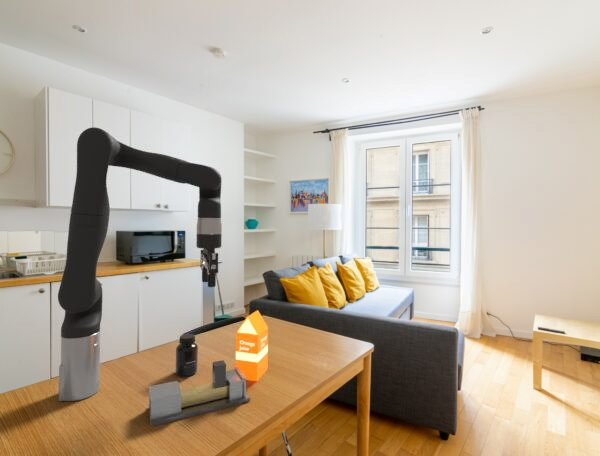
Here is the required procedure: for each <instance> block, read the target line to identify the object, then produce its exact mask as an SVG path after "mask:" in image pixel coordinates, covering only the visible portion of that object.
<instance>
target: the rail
mask: <svg viewBox="0 0 600 456" xmlns="http://www.w3.org/2000/svg"><path fill="white" fill-rule="evenodd" d="M226 381H227V382H228V384H229V388H228V397H224V398H220V399H216V400H212V401H208V402H204V403H199V404H195V405H191V406H187V407H183V408H181V388H180V384H179V382H178V380H174V381H170V382H165V383H159V384H155V385H150V386H149V389H148V390H149V391H148V394H149V395H148V397H149V398H148V412H149V421H150V427H155V426H158V425H162V424H167V423H169V422H175V421H178V420H182V419H186V418H189V417H190V418H191V417H194V416H198V415H200V414H201V415H202V414H206V413H209V412H214V411H218V410H222V409H225V408H229V407H233V406H237V405H241V404H245V403H249V402H250V401H251V397H250V396H249V394H248V392H247V380H246V377H245V376H244V374H243V373H242V372H241V370H240V369H239V368H238V367H236V366H235V367H234V369H229V370H226Z"/></svg>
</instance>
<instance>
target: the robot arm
mask: <svg viewBox="0 0 600 456" xmlns="http://www.w3.org/2000/svg"><path fill="white" fill-rule="evenodd" d="M76 142H77V143H76V175H75V176H76V177H75V185H74V188H73V195H72V196H73V197H72V204H71V208H70V217H69V222H68V233H67V234H68V235H67V245H66V259H65V265H64V270H63V274H62V278H61V281H60V284H59V289H58V293H57V300H58V301H57V302H58V304H59V307H61V309H62V310H64V317H63V318H64V319H63V321H62V324H61V326H60V327H61V328H60V364H59V366H58V402H63V401H65V402H75V401H80V400H86V399H88V398H90V397H91V396H94V395H95V394H96V393H99V390H100V385H101V384H100V377H101V376H100V375H101V374H100V373H101V371H100V368H101V366H100V365H101V364H100V363H101V362H100V361H101V355H100V354H101V347H100V346H101V322H102V316H103V287H102V284H101V281H99V280H98V278H97V266H98V263H99V262H98V261H99V258H100V256H101V252H102V250H103V247H104V244H105V242H106V241H105V240H106V237H107V233H108V230H109V221H110V199H109V195H108V194H109V193H108V187H107V177H108V171H109V166H110V167H118V168H126V169H130V170H135V171H139V172H143V173H146V174H149V175H152V176H155V177H158V178H162V179H165V180H168V181H172V182H175V183H179V184H187V185H190V186H194V187H197V188H198V195H199V196H198V197H199V201H198V202H197V219H196V220H197V222H196V243H195V244H196V246H195V247H196V248H197V249H200V260H199V261H200V262H199V263H200V264H199V267H200V269H201V270H200V271H201V282H202V283H207V287H208V288H215V287H216V278H217V277H216V276H217V274H219V253H218V252H216V249H220V248H221V247H222V238H223V237H222V227H223V226H222V225H223V224H222V204H221V198H222V197H221V195H222V175H221V173H220V171H219V170H217V169H216V168H214V167H212V166H209V165H204V164H199V163H193V162H189V161H187V160H184V159H181V158H177V157H175V156H170V155H167V154H164V153H158V152H157V153H156V152H149V151H145V150H141V149H137V148H134V147H132V146H129V145H127V144H125V143H123V142H120V140H119V141H118V140H117V139H116V138H115V137H113V135H111V134H110V133H109V132H107V131H105V130H104V129H102V128H99V127H89V128H86V129H85V130H83V131H82V132H81V133H80V135H79V136H78V138H77V141H76Z"/></svg>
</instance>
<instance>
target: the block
mask: <svg viewBox="0 0 600 456" xmlns="http://www.w3.org/2000/svg"><path fill="white" fill-rule="evenodd" d="M226 371H227V363H226V362H225V361H224V360H223V359H222V360H218V361H213V362H212V380H211V382H209V383H205V384H200V385H196V386H192V387H191V386H190V387H187V388H180V390H181V408H183V407H187V406H191V405H195V404H199V403H204V402H208V401H212V400H216V399H220V398H224V397H228V388H229V384H228V382H227V381H226Z"/></svg>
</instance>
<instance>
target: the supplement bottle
mask: <svg viewBox="0 0 600 456" xmlns="http://www.w3.org/2000/svg"><path fill="white" fill-rule="evenodd" d="M178 342H179V344H177V346H176V347H175V366H174V368H175V375H176V376H178V377H182V378H183V377H184V378H185V377H187V378H188V377H191V376H193V375H195V374H197V372H198V359H199V358H198V357H199V356H198V354H199V351H198V350H199V347H198V344H197V343H196V336H195V334H191V333H185V334H181V335H180V336H179V341H178Z"/></svg>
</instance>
